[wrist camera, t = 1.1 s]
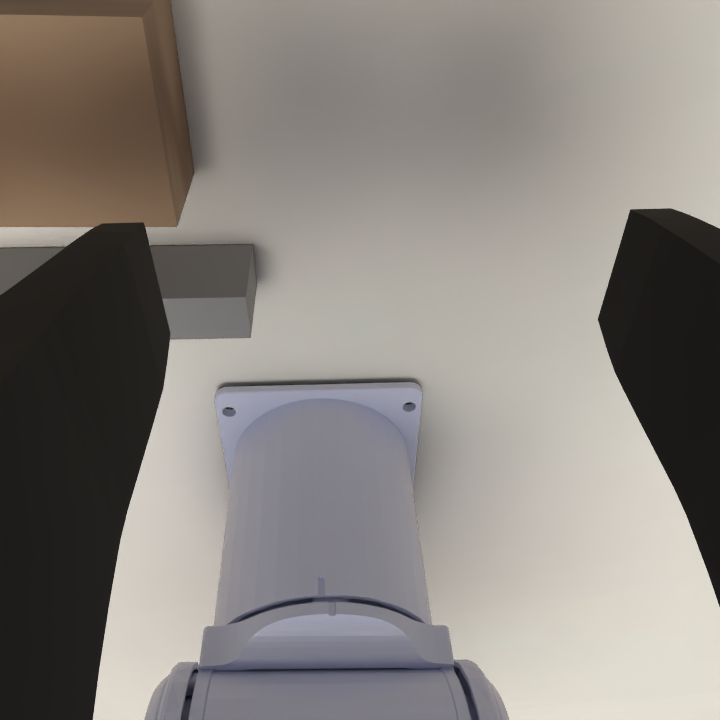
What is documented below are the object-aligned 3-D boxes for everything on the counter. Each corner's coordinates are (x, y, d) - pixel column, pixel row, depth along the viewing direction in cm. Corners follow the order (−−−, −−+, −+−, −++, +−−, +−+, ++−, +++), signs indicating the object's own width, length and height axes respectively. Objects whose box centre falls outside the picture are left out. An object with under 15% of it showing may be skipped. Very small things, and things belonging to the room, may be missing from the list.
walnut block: (195, 170, 20) (177, 226, 17) (25, 169, 20) (-20, 226, 17) (169, -18, 17) (142, 17, 14) (-35, -22, 16) (-103, 12, 14)
